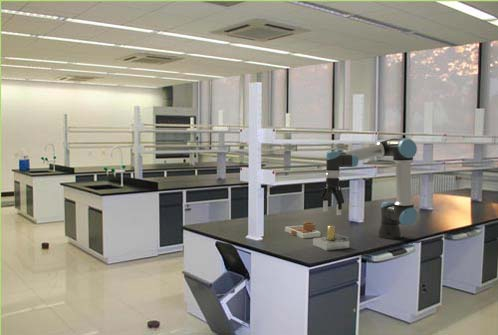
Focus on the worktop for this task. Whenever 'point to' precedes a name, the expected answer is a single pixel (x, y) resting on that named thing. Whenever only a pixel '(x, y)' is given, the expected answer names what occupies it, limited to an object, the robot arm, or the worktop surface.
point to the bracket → (304, 228)
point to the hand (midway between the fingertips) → (331, 213)
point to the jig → (332, 242)
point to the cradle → (302, 235)
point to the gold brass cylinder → (331, 233)
